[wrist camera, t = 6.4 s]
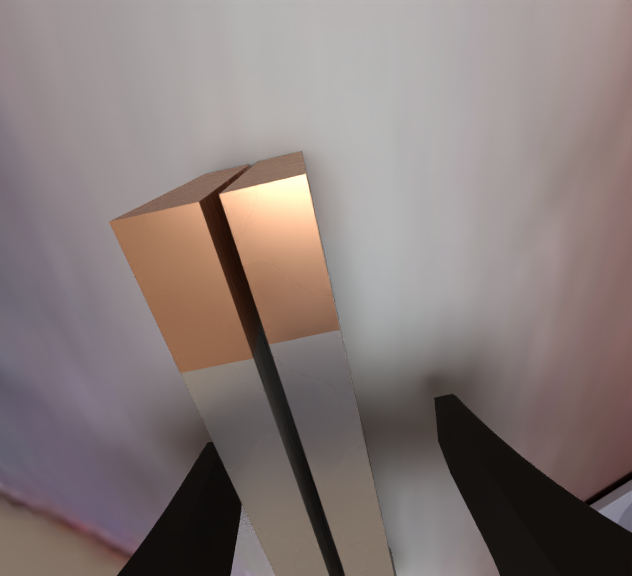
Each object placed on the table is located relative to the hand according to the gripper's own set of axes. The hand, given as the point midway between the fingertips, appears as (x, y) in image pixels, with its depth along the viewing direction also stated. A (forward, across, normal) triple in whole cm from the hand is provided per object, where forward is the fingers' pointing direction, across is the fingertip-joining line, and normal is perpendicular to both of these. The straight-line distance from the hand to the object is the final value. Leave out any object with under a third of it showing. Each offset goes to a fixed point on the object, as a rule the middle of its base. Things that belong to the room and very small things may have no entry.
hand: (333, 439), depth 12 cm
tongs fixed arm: (+1, 0, +1) cm, 2 cm away
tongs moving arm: (+1, +1, -1) cm, 2 cm away
